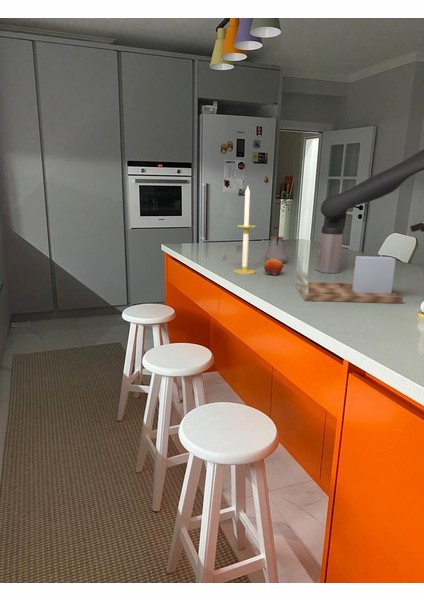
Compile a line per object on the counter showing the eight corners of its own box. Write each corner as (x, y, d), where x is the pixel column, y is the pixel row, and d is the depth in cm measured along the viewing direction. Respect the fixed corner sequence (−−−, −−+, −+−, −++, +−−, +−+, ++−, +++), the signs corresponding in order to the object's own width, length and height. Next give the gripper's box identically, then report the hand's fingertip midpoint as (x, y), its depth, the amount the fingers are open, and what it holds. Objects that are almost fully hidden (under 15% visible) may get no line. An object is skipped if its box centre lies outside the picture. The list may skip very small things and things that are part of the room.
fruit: (260, 272, 179) (264, 255, 181) (264, 279, 187) (267, 262, 189) (279, 274, 177) (282, 256, 178) (282, 280, 184) (285, 263, 186)
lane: (305, 300, 141) (306, 282, 139) (295, 287, 160) (297, 271, 159) (401, 303, 140) (404, 285, 138) (381, 289, 159) (383, 273, 158)
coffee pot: (264, 260, 219) (266, 231, 216) (286, 261, 218) (288, 232, 214) (263, 267, 199) (265, 235, 195) (288, 268, 197) (290, 236, 194)
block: (356, 292, 147) (360, 258, 144) (352, 289, 152) (355, 256, 149) (391, 293, 147) (395, 259, 144) (386, 290, 152) (390, 256, 149)
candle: (228, 271, 188) (231, 184, 178) (243, 268, 195) (246, 184, 185) (245, 275, 181) (249, 184, 172) (260, 272, 188) (264, 185, 178)
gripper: (451, 204, 149) (405, 219, 151) (472, 200, 135) (421, 217, 137) (456, 224, 149) (410, 239, 152) (478, 223, 135) (427, 239, 138)
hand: (415, 229), depth 144 cm, fingers open, 8 cm apart
